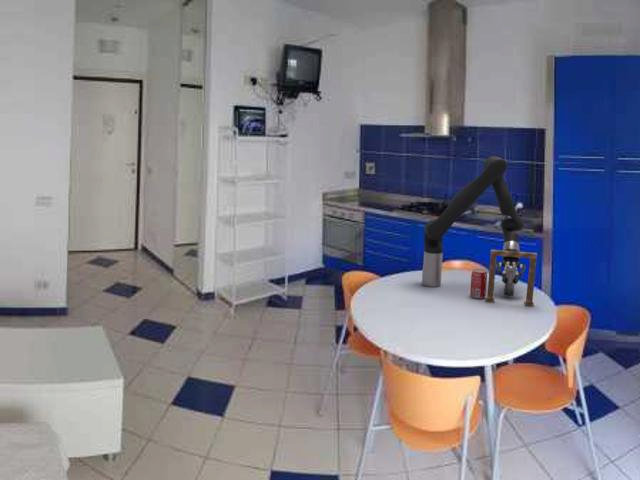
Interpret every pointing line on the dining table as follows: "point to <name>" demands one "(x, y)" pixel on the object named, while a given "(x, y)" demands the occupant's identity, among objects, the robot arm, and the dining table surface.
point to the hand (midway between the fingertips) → (510, 282)
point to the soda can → (478, 283)
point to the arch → (530, 277)
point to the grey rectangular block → (509, 280)
